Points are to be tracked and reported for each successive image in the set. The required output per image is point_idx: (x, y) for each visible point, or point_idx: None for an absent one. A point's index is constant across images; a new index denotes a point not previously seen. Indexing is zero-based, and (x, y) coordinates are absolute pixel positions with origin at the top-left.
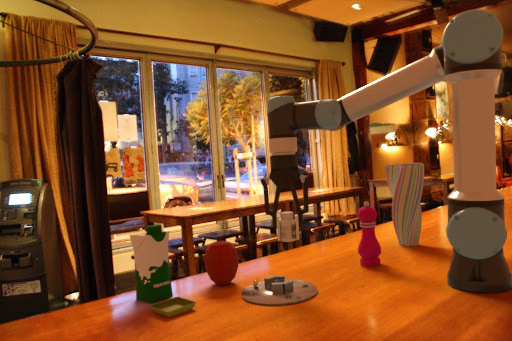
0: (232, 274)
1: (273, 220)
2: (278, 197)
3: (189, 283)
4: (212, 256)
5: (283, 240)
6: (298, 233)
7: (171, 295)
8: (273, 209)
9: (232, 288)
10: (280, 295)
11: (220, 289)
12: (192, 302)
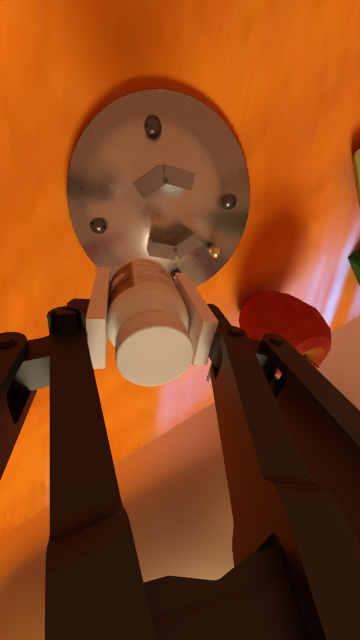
0: (254, 299)
1: (223, 323)
2: (255, 425)
3: None
4: (319, 314)
5: (164, 268)
6: (98, 277)
7: (352, 256)
8: (251, 351)
9: (247, 275)
10: (169, 158)
11: (268, 275)
12: (358, 163)
